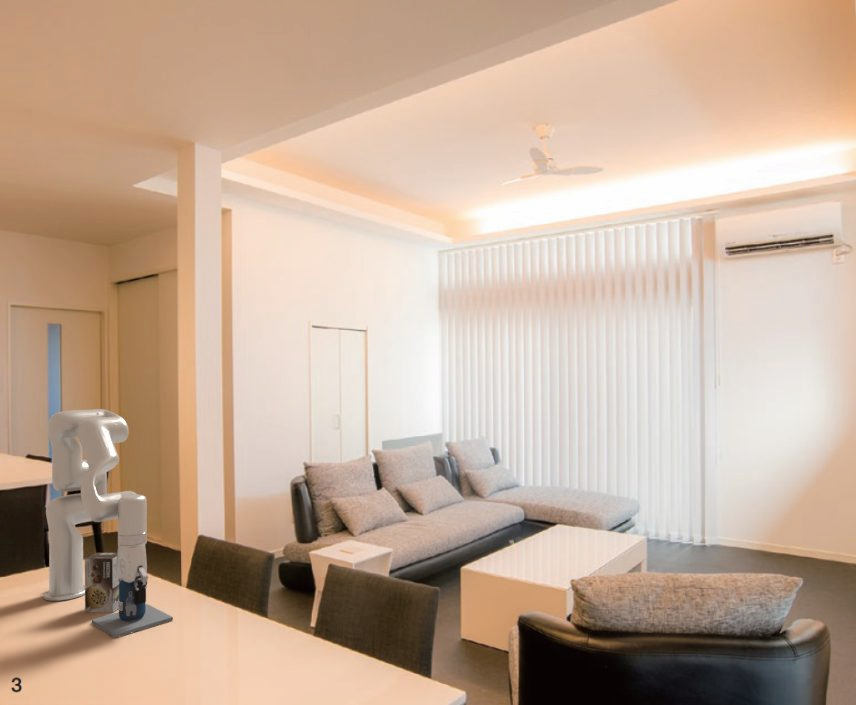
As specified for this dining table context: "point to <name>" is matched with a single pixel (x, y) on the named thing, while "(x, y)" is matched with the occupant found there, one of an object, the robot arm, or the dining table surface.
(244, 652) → the dining table surface
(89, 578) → the coffee box
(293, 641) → the dining table surface
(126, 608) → the soda can
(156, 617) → the mat
